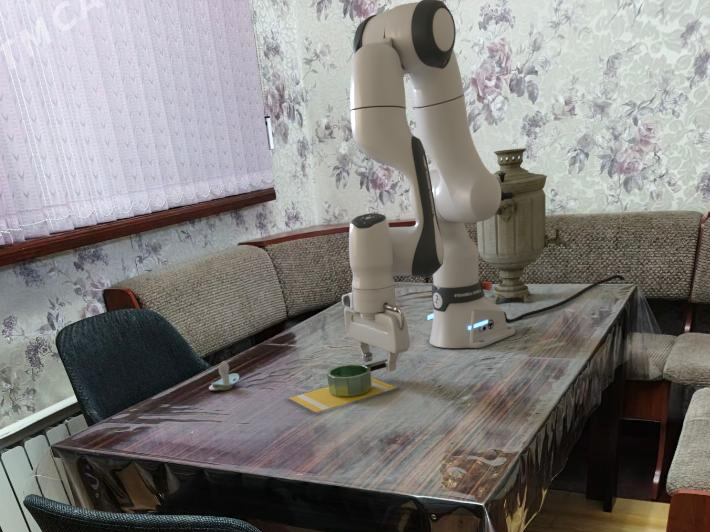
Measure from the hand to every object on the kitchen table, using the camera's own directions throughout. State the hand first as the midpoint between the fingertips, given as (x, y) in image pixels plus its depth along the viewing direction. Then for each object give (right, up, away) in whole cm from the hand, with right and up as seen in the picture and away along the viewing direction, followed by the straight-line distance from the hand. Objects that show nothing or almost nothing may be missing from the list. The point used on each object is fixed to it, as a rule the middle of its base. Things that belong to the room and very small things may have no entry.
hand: (378, 365), depth 154 cm
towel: (-8, -7, -3) cm, 11 cm away
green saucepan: (-3, -5, 0) cm, 6 cm away
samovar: (+42, +33, +59) cm, 79 cm away
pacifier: (-36, -3, +8) cm, 37 cm away
